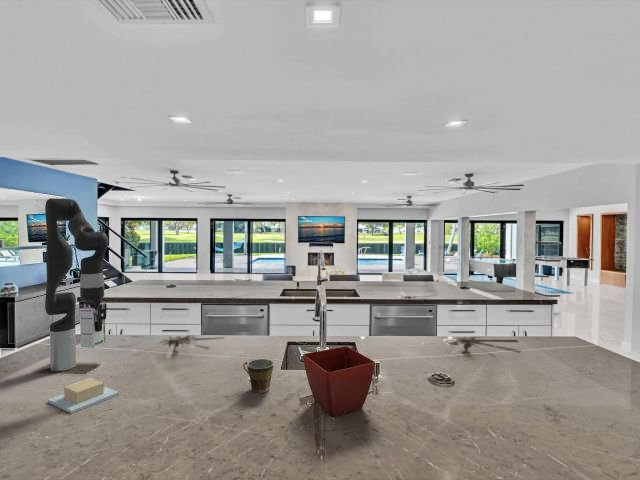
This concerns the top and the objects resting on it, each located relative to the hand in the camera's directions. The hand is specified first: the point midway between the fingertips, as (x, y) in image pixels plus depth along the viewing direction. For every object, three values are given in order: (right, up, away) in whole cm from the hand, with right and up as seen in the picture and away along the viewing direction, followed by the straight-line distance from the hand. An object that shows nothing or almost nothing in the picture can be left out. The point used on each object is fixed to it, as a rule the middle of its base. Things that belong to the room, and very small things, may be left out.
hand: (92, 329), depth 133 cm
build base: (-1, -24, -3) cm, 24 cm away
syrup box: (0, -6, 0) cm, 6 cm away
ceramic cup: (+60, -24, +5) cm, 65 cm away
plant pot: (+91, -25, -8) cm, 94 cm away
